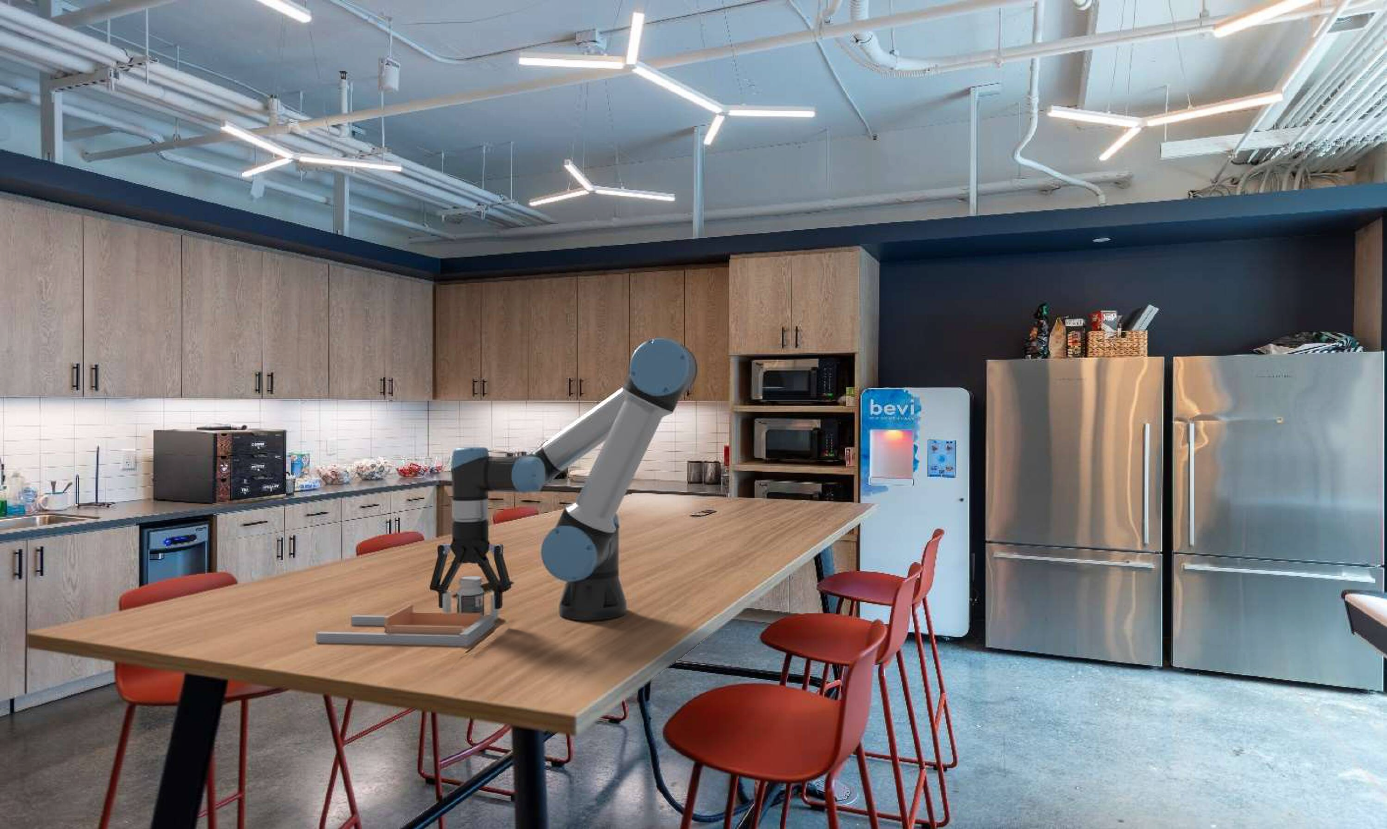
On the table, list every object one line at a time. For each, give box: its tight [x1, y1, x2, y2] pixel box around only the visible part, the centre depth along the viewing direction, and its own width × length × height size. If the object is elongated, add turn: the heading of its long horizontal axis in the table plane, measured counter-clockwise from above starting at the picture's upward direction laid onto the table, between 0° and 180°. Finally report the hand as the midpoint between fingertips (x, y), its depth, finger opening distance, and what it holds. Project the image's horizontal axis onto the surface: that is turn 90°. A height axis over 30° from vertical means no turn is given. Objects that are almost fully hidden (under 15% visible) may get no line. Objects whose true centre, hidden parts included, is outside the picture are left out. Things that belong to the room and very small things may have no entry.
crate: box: [384, 604, 482, 635], centre depth 162 cm, size 15×11×4 cm
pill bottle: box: [456, 575, 485, 618], centre depth 175 cm, size 6×6×10 cm
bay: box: [315, 614, 495, 654], centre depth 163 cm, size 30×15×4 cm, turn 85°
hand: (470, 623), depth 175 cm, fingers open, 10 cm apart
